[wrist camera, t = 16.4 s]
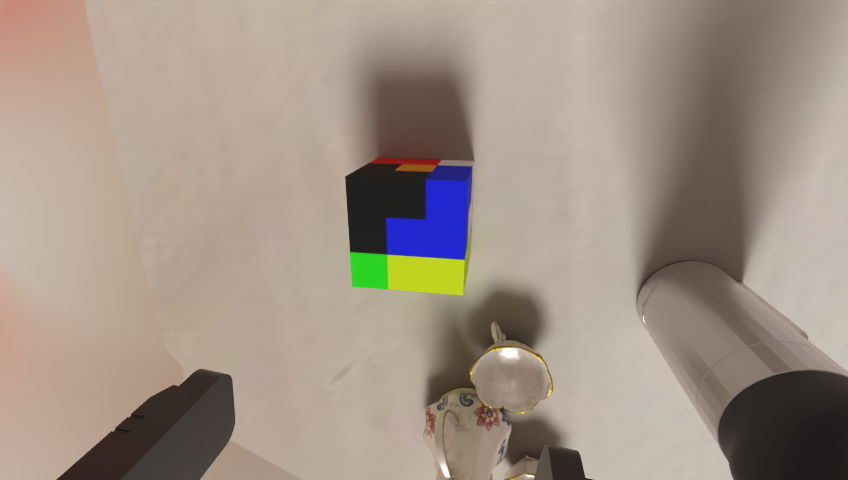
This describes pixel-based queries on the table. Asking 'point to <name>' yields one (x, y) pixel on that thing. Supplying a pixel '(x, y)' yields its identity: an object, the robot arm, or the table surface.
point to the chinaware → (487, 413)
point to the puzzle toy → (411, 224)
